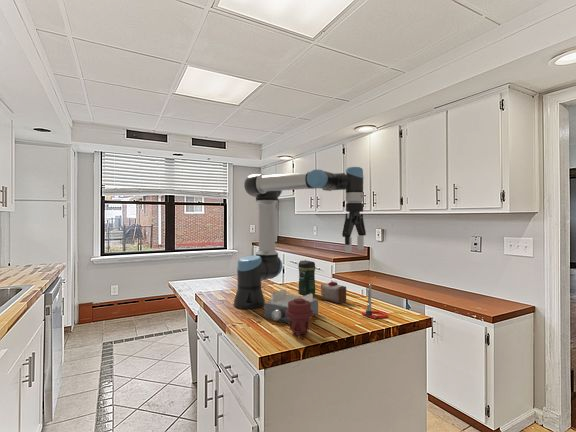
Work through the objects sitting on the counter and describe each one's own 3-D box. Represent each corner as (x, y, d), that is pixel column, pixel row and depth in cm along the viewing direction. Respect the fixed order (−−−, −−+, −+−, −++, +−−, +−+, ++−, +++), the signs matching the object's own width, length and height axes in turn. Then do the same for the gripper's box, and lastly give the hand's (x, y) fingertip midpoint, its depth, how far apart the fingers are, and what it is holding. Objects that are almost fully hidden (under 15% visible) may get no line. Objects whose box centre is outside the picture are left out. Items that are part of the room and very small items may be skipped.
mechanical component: (314, 329, 125) (310, 338, 115) (288, 327, 127) (283, 336, 117) (314, 297, 125) (310, 303, 115) (288, 295, 127) (283, 302, 117)
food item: (318, 299, 171) (318, 280, 171) (328, 297, 176) (328, 278, 176) (338, 304, 161) (338, 284, 161) (348, 301, 166) (348, 282, 166)
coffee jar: (317, 294, 182) (317, 261, 182) (306, 296, 177) (306, 262, 177) (307, 291, 189) (307, 259, 190) (296, 293, 185) (296, 260, 185)
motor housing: (260, 319, 137) (260, 296, 137) (288, 308, 154) (288, 287, 154) (291, 326, 128) (291, 302, 128) (318, 313, 145) (318, 292, 145)
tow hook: (376, 312, 149) (360, 314, 144) (377, 281, 149) (361, 283, 144) (392, 317, 141) (375, 320, 136) (393, 285, 141) (376, 286, 136)
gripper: (351, 201, 131) (351, 254, 131) (372, 203, 151) (372, 249, 151) (334, 201, 135) (334, 253, 135) (357, 203, 156) (357, 248, 155)
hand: (354, 251), depth 143 cm, fingers open, 13 cm apart
